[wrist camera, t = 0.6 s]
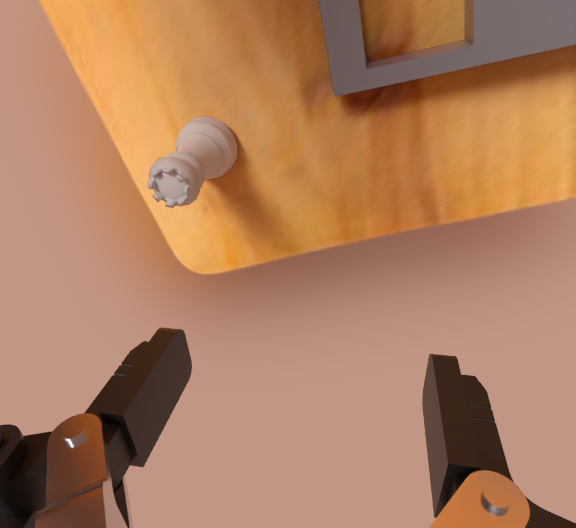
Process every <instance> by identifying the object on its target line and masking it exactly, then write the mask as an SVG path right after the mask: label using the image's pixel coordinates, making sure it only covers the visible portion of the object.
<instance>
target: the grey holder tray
mask: <svg viewBox="0 0 576 528" xmlns="http://www.w3.org/2000/svg"><path fill="white" fill-rule="evenodd" d="M318 2H319V8H320V14H321V20H322V26H323V32H324V38H325V44H326V50H327V56H328V62H329V68H330V73H331V79H332V85H333V91H334V97H336V96H341V95H345V94H350V93H355V92H359V91H364V90H369V89H373V88H378V87H382V86H387V85H392V84H396V83H401V82H406V81H410V80H415V79H419V78H424V77H429V76H433V75H438V74H443V73H447V72H452V71H456V70H461V69H466V68H470V67H475V66H480V65H484V64H489V63H493V62H498V61H503V60H507V59H512V58H517V57H521V56H526V55H530V54H535V53H540V52H544V51H549V50H554V49H558V48H563V47H567V46H572V45H576V0H465V40H462V41H458V42H453V43H449V44H445V45H441V46H436V47H432V48H428V49H424V50H419V51H415V52H411V53H406V54H402V55H398V56H394V57H389V58H385V59H381V60H376V61H372V62H368V63H367V60H366V52H365V43H364V35H363V27H362V19H361V11H360V3H359V0H318Z"/></svg>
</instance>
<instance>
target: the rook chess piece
mask: <svg viewBox="0 0 576 528" xmlns="http://www.w3.org/2000/svg"><path fill="white" fill-rule="evenodd" d="M236 158H237V143H236V140H235V138H234V135H233V133H232V132H231V131H230V130H229V128H228V127H227V126H226V125H225V124H224V123H222V122H220V121H219V120H217V119H215V118H212V117H206V116H201V117H197V118H194V119H191V120H190V121H189V122H188V123H187V124H186V125H185V126H184V128H182V129H181V130H180V133H179V135H178V138H177V141H176V152H174V153H170V154H169V155H168V156H167V157H163V158H159V159H158V160H156V161H155V162H154V163H153V164H152V166H151V169H150V172H149V178H150V180H149V181H148V187H149V189H153V190H154V192H155V194H154V195H153V197H154V198H155V200H156V201H157V202H159V201H160V200H161V199H162V200H164V201H166V207H172V208H173V207H174V206H175V205H177V206H184V205H189V204H191V203H192V202H193V201H195V200H196V199H197V196H198V194H199V192H200V188H201V187H202V184H203V182H204V179H213V178H217V177H221V176H222V175H223V174H224V173H226V172H227V171H228V170H229V169H230V168H231V167H232V166H233V164H234V162H235V160H236Z"/></svg>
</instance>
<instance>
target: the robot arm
mask: <svg viewBox="0 0 576 528" xmlns="http://www.w3.org/2000/svg"><path fill="white" fill-rule="evenodd" d="M191 370H192V364H191V358H190V353H189V349H188V345H187V341H186V337H185V333H184V331H183V330H181V329H170V328H159V329H158V330H157V331H156V333H155V334H154V336H153V337H152V338H151V340H150V341H149V342H145V341H144V342H142V343H141V344H140V345H138V346H137V347H135V348H134V349H133V350H131V351H130V353H129V354H128V355H127V357H126V358H125V360H124V361H123V362H122V365H121V366H119V367H118V369H117V370H116V371H115V373H114V376H112V377H111V378H110V380H109V381H108V382H107V384H106V385H105V386H104V388H103V389H102V390H101V392H100V393H99V394H98V396H97V397H96V398H95V400H94V401H93V402H92V404H91V405H90V407H89V408H88V409H87V410H86V412H85V413H83V414H78V415H75V416H72V417H70V418H68V419H66V420H65V421H63V422H62V423H60V424H59V425H58V426H57V427H56V428H55V429H54V430H53V431H52V432H46V433H40V434H33V435H27V436H23V435H22V433H21V431H20V430H19V428H18V427H16V426H14V425H0V528H133V524H132V517H131V510H130V504H129V497H128V491H127V484H126V478H125V476H124V475H125V473H126V471H127V469H128V468H129V466H130V465H132V466H139V467H144V465H145V463H146V461H147V459H148V457H149V455H150V453H151V451H152V450H153V447H154V446H155V444H156V442H157V440H158V438H159V436H160V434H161V432H162V430H163V429H164V426H165V425H166V423H167V421H168V419H169V417H170V415H171V413H172V411H173V409H174V408H175V406H176V404H177V402H178V400H179V398H180V396H181V394H182V392H183V390H184V388H185V387H186V384H187V383H188V381H189V378H190V375H191ZM423 415H424V425H425V434H426V443H427V453H428V462H429V471H430V481H431V490H432V499H433V509H434V517H435V518H436V519H435V520H434V522H433V523H432V524H431V526H430V527H429V528H576V523H573V522H571V521H569V520H567V519H564V518H562V517H560V516H558V515H555V514H553V513H551V512H549V511H546V510H544V509H542V508H541V507H539V506H537V505H536V504H534V503H533V502H531V501H530V500H529V499H528V498H527V497H526V496H525V495H524V494H523V492H522V491H521V490H520V489H519V487H518V486H517V485H516V484H515V483H514V482H513V480H512V478H511V475H510V473H509V469H508V466H507V462H506V458H505V455H504V452H503V448H502V444H501V441H500V437H499V433H498V430H497V426H496V423H495V419H494V416H493V412H492V410H491V405H490V401H489V398H488V394H487V391H486V390H485V388H484V387H483V386H482V384H481V383H480V382H479V381H478V380H477V378H476V377H475V376H469V375H461V373H460V368H459V364H458V360H457V357H456V356H446V355H436V354H430V355H429V359H428V365H427V371H426V376H425V383H424V388H423Z"/></svg>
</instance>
